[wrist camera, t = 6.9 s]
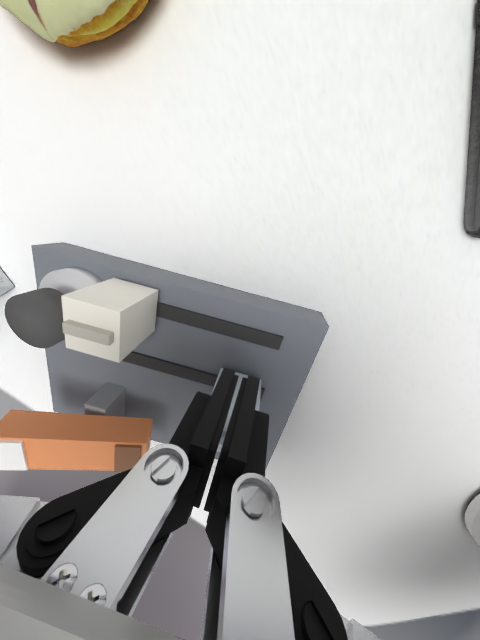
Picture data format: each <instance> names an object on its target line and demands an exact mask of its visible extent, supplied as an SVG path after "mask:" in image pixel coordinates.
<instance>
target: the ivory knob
mask: <svg viewBox="0 0 480 640" xmlns="http://www.w3.org/2000/svg"><path fill="white" fill-rule="evenodd" d="M61 300H62V311H63V322H62V327H63V333H64V334H65V344H66V348H69V349H72V350H76V351H79V352H83V353H86V354H90V355H93V356H97V357H100V358H104V359H107V360H111V361H114V362H118V363H120V362H121V361H122V360H123V359H124V358H125V357H126V356H127V355H128V354H129V353H131V352H132V351H133V350H134V349H135V348H136V347H137V346H138V345H139V344H140V343H142V342H143V341H144V340H145V339H146V338H147V337H148V336H149V335H150V334H152V333H153V332H154V331H155V321H156V311H157V300H158V290H157V289H153V288H150V287H146V286H142V285H139V284H135V283H131V282H128V281H124V280H120V279H117V278H111V279H108V280H106V281H103V282H100V283H97V284H94V285H91V286H88V287H85V288H82V289H79V290H76V291H73V292H70V293H67V294H64V295H62V296H61Z"/></svg>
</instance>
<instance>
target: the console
mask: <svg viewBox="0 0 480 640" xmlns="http://www.w3.org/2000/svg"><path fill="white" fill-rule="evenodd" d="M32 253H33V260H34V268H35V275H36V283H37V289H41V288H53V289H56V290H58V291H60V292H62V293H64V294H67V293H70V292H73V291H76V290H79V289H82V288H85V287H88V286H91V285H94V284H97V283H100V282H103V281H106V280H108V279H111V278H117V279H120V280H124V281H128V282H131V283H135V284H139V285H142V286H146V287H150V288H153V289H157V290H158V300H157V311H156V321H155V331H154V332H153V333H152V334H150V335H149V336H148V337H147V338H146V339H145V340H144V341H143V342H142V343H140V344H139V345H138V346H137V347H136V348H135V349H134V350H133V351H132V352H131V353H129V354H128V355H127V356H126V357H125V358H124V359H123V360H122V361H121V362H120V363H118V362H114V361H111V360H107V359H104V358H100V357H97V356H93V355H90V354H86V353H83V352H79V351H76V350H72V349H69V348H66V344H65V340H63V341H61V342H59V343H57V344H56V345H54V346H52V347H49V348H45V350H46V357H47V365H48V372H49V379H50V387H51V394H52V402H53V409H54V411H55V412H58V413H70V414H86V415H102V416H118V417H134V418H150V419H153V422H152V432H151V440H154V441H157V442H161V443H164V444H169V442H170V440H171V438H172V437H173V435H174V433H175V431H176V429H177V427H178V426H179V424H180V422H181V420H182V418H183V416H184V415H185V413H186V411H187V409H188V407H189V405H190V404H191V402H192V400H193V398H194V396H195V394H196V393H197V392H198V391H199V392H202V393H205V394H208V395H211V394H212V391H213V388H214V385H215V382H216V380H217V377H218V374H219V371H220V369H221V368H227V369H230V370H233V371H235V372H237V373H241V374H244V375H249V376H252V377H256V378H259V379H262V380H261V394H260V408H259V411H260V412H263V413H266V414H269V429H268V442H267V454H266V466H265V469H266V467H267V465H268V463H269V460H270V458H271V456H272V454H273V452H274V449H275V447H276V445H277V443H278V440H279V438H280V436H281V434H282V431H283V429H284V427H285V425H286V422H287V420H288V418H289V416H290V413H291V411H292V409H293V407H294V404H295V402H296V400H297V398H298V395H299V393H300V391H301V389H302V386H303V384H304V382H305V380H306V377H307V375H308V373H309V371H310V368H311V366H312V364H313V362H314V359H315V357H316V355H317V353H318V351H319V348H320V346H321V344H322V342H323V339H324V337H325V335H326V333H327V330H328V328H329V325H328V324H327V322H326V320H325V318H324V316H323V314H322V313H321V312H318V311H314V310H310V309H307V308H303V307H299V306H296V305H292V304H288V303H285V302H281V301H277V300H273V299H270V298H266V297H262V296H259V295H255V294H251V293H248V292H244V291H240V290H237V289H233V288H229V287H225V286H222V285H218V284H214V283H211V282H207V281H203V280H200V279H196V278H192V277H189V276H185V275H181V274H178V273H174V272H170V271H166V270H163V269H159V268H155V267H152V266H148V265H144V264H141V263H137V262H133V261H130V260H126V259H122V258H119V257H115V256H111V255H107V254H104V253H100V252H96V251H93V250H89V249H85V248H82V247H78V246H74V245H71V244H67V243H53V244H42V245H32ZM219 456H220V452H217V451H216V455H215V459H219Z"/></svg>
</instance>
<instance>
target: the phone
mask: <svg viewBox="0 0 480 640" xmlns="http://www.w3.org/2000/svg"><path fill="white" fill-rule="evenodd" d="M464 228H465V230H466V232H467V233H468V234H469V235H471V236H472V237H477V238H480V0H478V6H477V21H476V38H475V54H474V69H473V85H472V101H471V117H470V133H469V149H468V165H467V181H466V196H465V212H464Z"/></svg>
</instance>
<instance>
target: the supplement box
mask: <svg viewBox="0 0 480 640" xmlns="http://www.w3.org/2000/svg"><path fill="white" fill-rule="evenodd" d="M13 287H14V285H13V284H12V283H11V282H10V280H9V279H8V278H7V277H6V275H5V274H4V273H3V271H2V270H1V269H0V296H1V295H2V294H4V293H5V292H7V291H8V290H10V289H12V288H13Z"/></svg>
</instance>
